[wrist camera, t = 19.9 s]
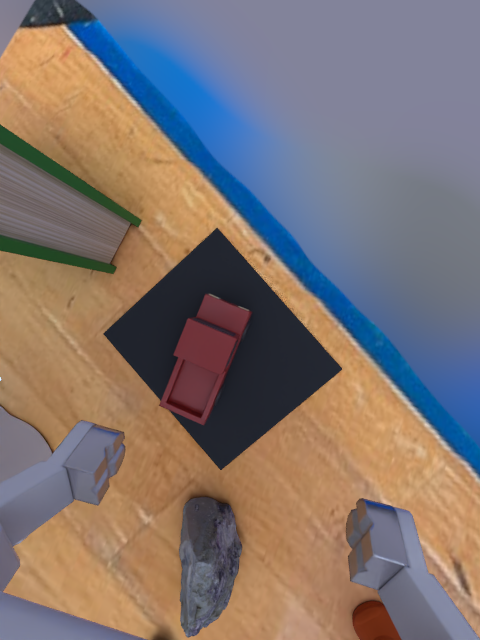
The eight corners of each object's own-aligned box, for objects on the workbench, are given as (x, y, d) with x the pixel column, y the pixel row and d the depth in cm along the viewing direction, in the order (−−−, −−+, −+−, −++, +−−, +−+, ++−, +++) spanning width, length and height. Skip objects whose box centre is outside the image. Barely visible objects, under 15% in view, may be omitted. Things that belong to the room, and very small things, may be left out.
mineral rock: (211, 611, 39) (191, 715, 29) (143, 558, 40) (100, 642, 30) (271, 533, 38) (272, 614, 28) (200, 479, 39) (176, 540, 29)
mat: (221, 468, 38) (220, 470, 38) (104, 333, 39) (103, 333, 39) (341, 368, 36) (342, 369, 36) (217, 228, 37) (217, 227, 37)
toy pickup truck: (214, 411, 38) (200, 438, 30) (171, 391, 38) (145, 414, 30) (255, 311, 37) (252, 313, 29) (210, 293, 37) (194, 289, 29)
